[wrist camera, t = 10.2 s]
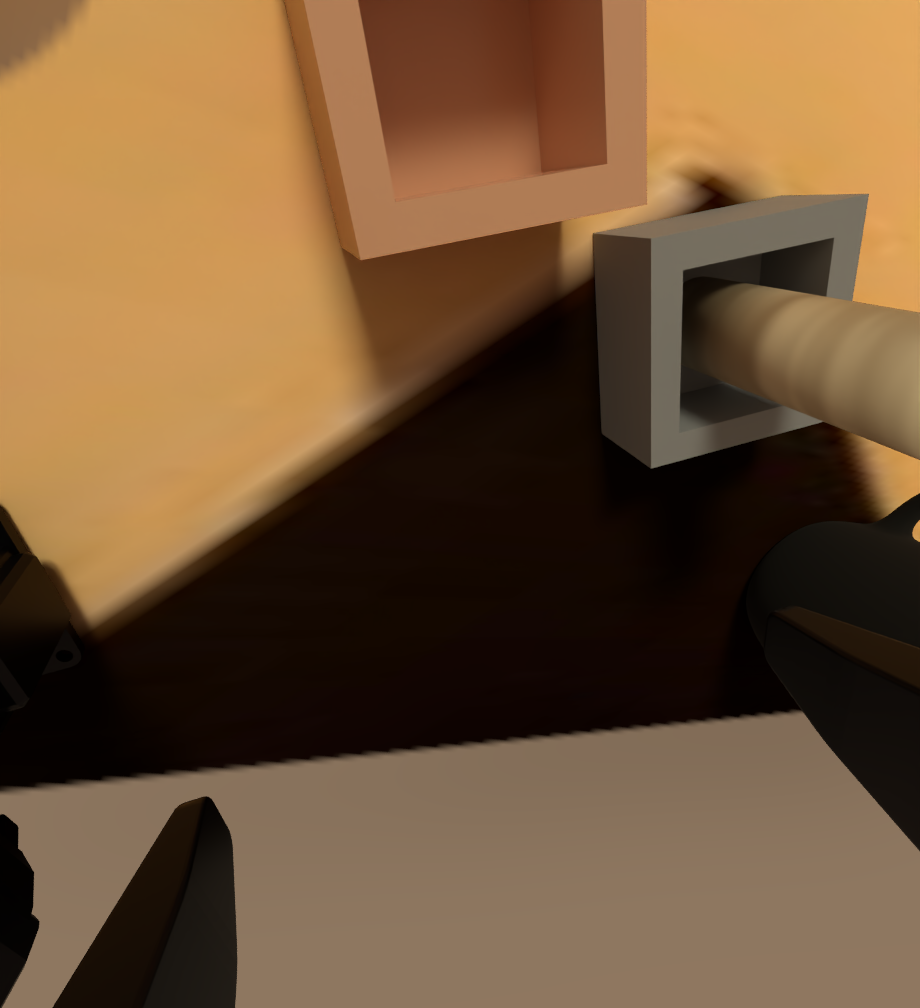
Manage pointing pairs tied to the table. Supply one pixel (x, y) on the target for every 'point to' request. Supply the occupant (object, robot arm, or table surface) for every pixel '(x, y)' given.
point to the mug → (846, 575)
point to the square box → (472, 114)
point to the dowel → (810, 355)
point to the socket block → (658, 315)
